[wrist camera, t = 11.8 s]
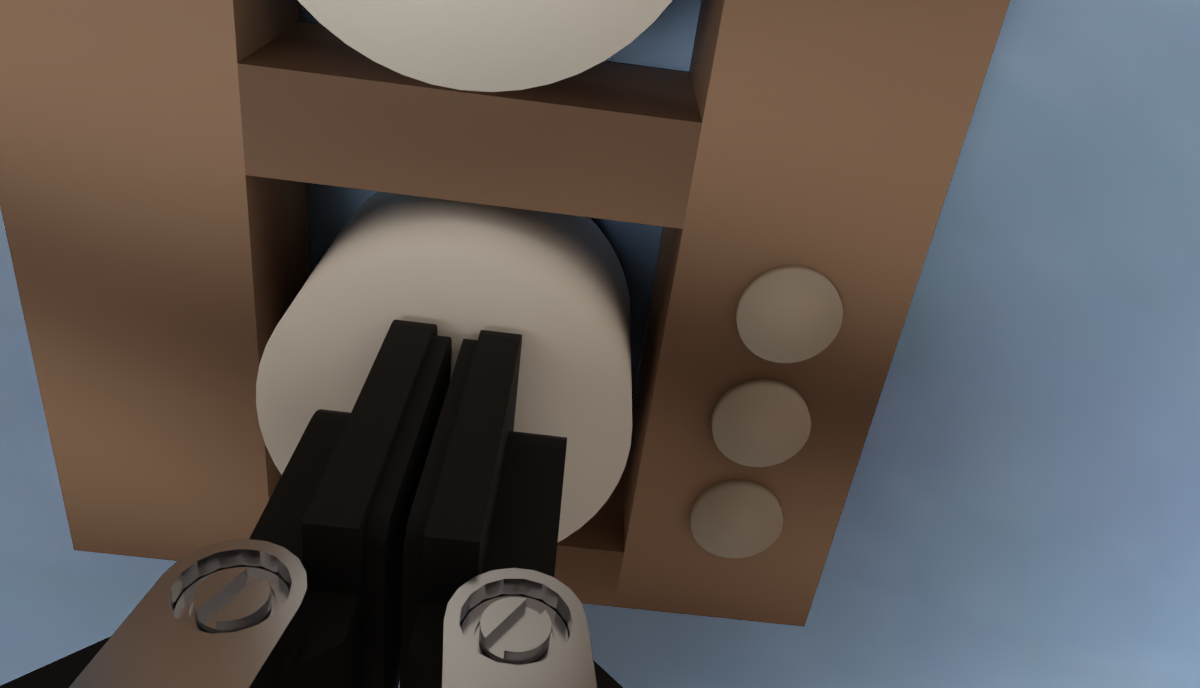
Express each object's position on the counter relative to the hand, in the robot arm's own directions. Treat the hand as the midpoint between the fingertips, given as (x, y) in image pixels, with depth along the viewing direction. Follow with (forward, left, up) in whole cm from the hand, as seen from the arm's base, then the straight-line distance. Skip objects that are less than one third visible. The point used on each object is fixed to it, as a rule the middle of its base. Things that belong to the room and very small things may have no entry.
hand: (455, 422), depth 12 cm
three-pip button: (0, 0, -3) cm, 3 cm away
